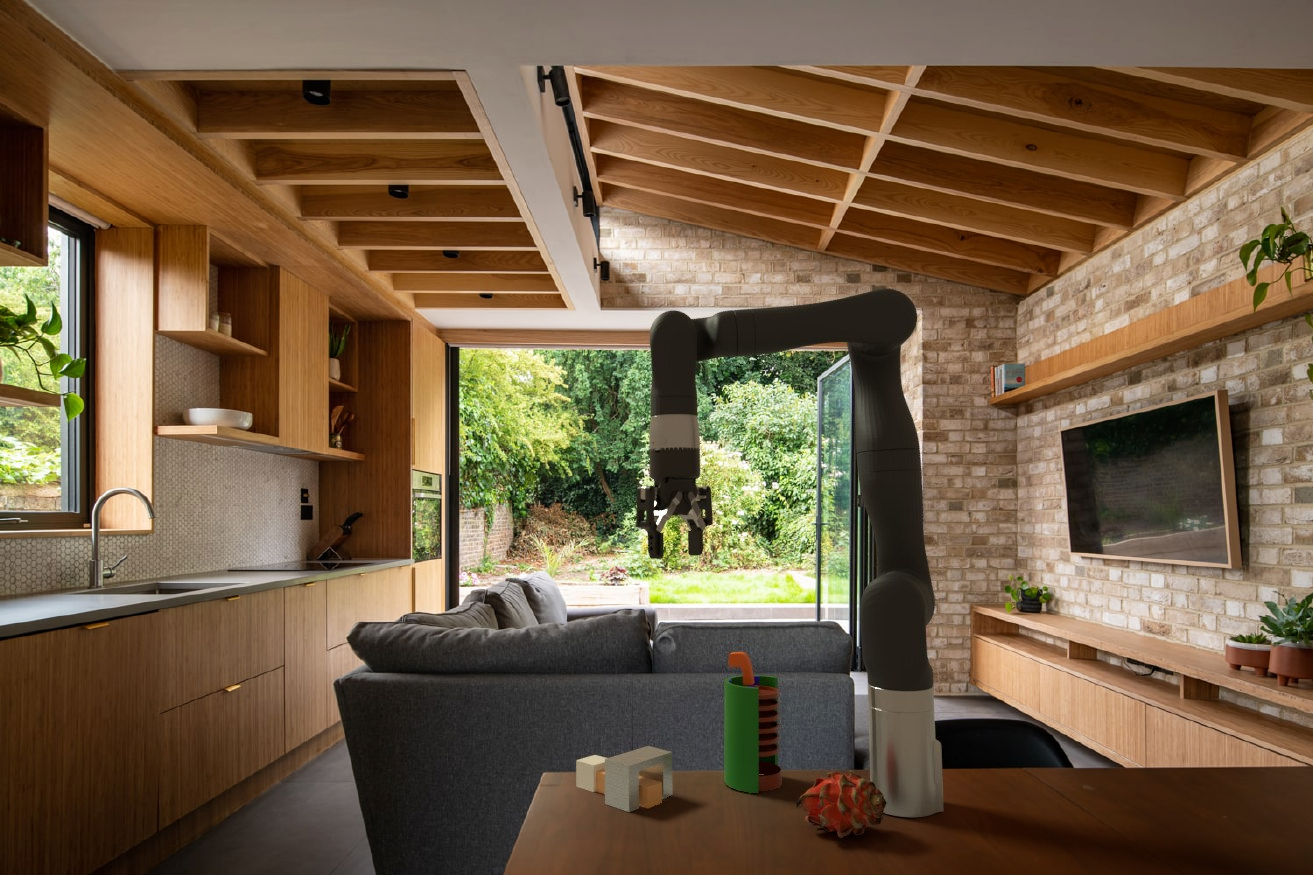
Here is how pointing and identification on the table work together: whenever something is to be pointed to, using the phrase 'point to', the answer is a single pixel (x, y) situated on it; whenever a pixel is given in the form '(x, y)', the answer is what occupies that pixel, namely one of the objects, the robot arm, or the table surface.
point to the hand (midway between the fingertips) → (676, 556)
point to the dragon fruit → (843, 804)
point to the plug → (593, 780)
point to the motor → (751, 729)
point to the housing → (636, 775)
